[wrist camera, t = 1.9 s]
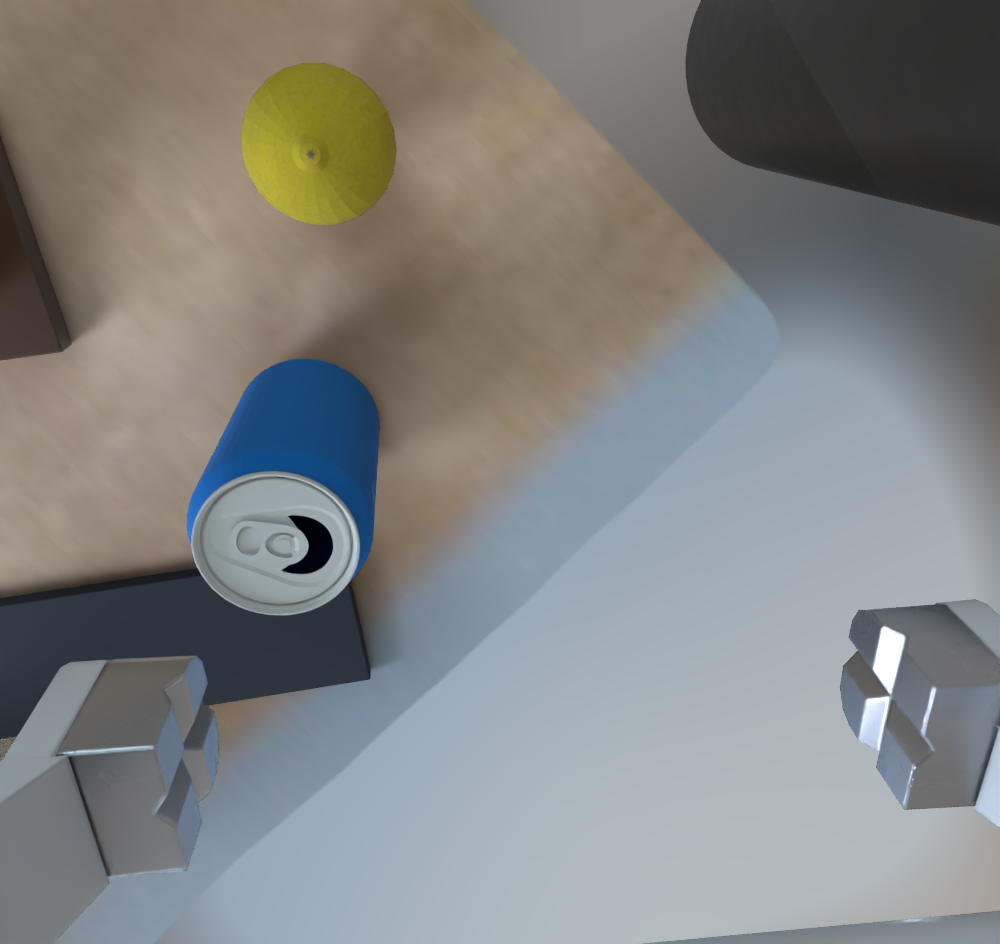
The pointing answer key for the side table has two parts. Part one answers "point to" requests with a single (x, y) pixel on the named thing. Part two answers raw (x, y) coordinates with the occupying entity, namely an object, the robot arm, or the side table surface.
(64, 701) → the robot arm
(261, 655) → the dark grey flat slab
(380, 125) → the lemon
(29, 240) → the stand
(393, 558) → the side table surface
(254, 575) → the beverage can
